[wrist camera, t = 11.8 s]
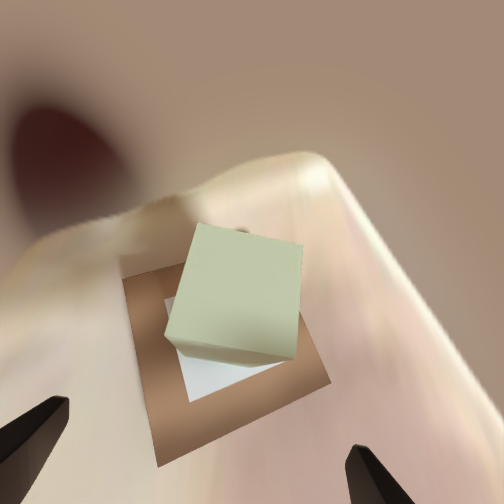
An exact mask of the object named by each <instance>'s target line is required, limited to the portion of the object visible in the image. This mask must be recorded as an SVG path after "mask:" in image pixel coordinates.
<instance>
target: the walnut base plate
mask: <svg viewBox="0 0 504 504" xmlns="http://www.w3.org/2000/svg"><path fill="white" fill-rule="evenodd" d="M185 263H186V262H185ZM185 263H181V264H178V265H174V266H170V267H166V268H162V269H159V270H155V271H151V272H147V273H144V274H140V275H136V276H132V277H129V278H125V279H122V280H123V285H124V290H125V296H126V301H127V306H128V312H129V317H130V322H131V328H132V333H133V338H134V343H135V349H136V354H137V359H138V365H139V370H140V375H141V381H142V386H143V391H144V397H145V402H146V407H147V413H148V418H149V423H150V429H151V434H152V439H153V445H154V450H155V455H156V460H157V466H158V468H159V467H161V466H163V465H165V464H167V463H169V462H171V461H173V460H175V459H177V458H179V457H181V456H183V455H185V454H187V453H189V452H191V451H193V450H196V449H198V448H200V447H202V446H204V445H206V444H208V443H210V442H212V441H214V440H216V439H218V438H220V437H222V436H224V435H226V434H228V433H230V432H232V431H234V430H236V429H238V428H240V427H243V426H245V425H247V424H249V423H251V422H253V421H255V420H257V419H259V418H261V417H263V416H265V415H267V414H269V413H271V412H273V411H275V410H277V409H279V408H281V407H283V406H285V405H288V404H290V403H292V402H294V401H296V400H298V399H300V398H302V397H304V396H306V395H308V394H310V393H312V392H314V391H316V390H318V389H320V388H322V387H324V386H326V385H328V384H330V383H331V381H330V379H329V377H328V374H327V372H326V370H325V367H324V365H323V363H322V361H321V358H320V356H319V354H318V352H317V349H316V347H315V345H314V343H313V340H312V338H311V336H310V334H309V331H308V329H307V327H306V325H305V322H304V320H303V318H302V316H301V313H300V311H299V320H298V336H297V352H296V359H293V360H288V361H283V362H278V363H274V364H269V365H264V366H259V367H254V368H245V367H240V366H234V365H228V364H222V363H217V362H211V361H205V360H199V359H193V358H188V357H185V356H184V355H183V354H182V353H181V352H180V351H179V350H178V349H177V348H176V347H175V346H174V345H173V344H172V343H171V342H170V341H169V340H168V339H167V338H166V337H165V336H164V334H165V330H166V327H167V324H168V320H169V317H170V314H171V310H172V307H173V304H174V300H175V297H176V294H177V290H178V287H179V283H180V280H181V277H182V273H183V270H184V267H185Z"/></svg>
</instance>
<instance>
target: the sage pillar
mask: <svg viewBox="0 0 504 504" xmlns="http://www.w3.org/2000/svg"><path fill="white" fill-rule="evenodd" d="M302 257H303V245H300V244H295V243H291V242H286V241H282V240H277V239H272V238H268V237H263V236H258V235H254V234H249V233H245V232H240V231H235V230H231V229H226V228H221V227H217V226H212V225H208V224H203V223H197V226H196V230H195V233H194V236H193V240H192V243H191V247H190V250H189V253H188V257H187V260H186V263H185V267H184V270H183V273H182V277H181V280H180V283H179V287H178V290H177V294H176V297H175V300H174V304H173V307H172V310H171V314H170V317H169V320H168V324H167V327H166V330H165V334H164V336H165V337H166V338H167V339H168V340H169V341H170V342H171V343H172V344H173V345H174V346H175V347H176V348H177V349H178V350H179V351H180V352H181V353H182V354H183V355H184V356H185V357H188V358H193V359H199V360H205V361H211V362H217V363H222V364H228V365H234V366H240V367H245V368H254V367H259V366H264V365H269V364H274V363H278V362H283V361H288V360H293V359H296V352H297V336H298V320H299V305H300V289H301V273H302Z"/></svg>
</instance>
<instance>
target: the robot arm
mask: <svg viewBox="0 0 504 504" xmlns="http://www.w3.org/2000/svg"><path fill="white" fill-rule="evenodd" d="M68 420H69V398H68V397H64V396H57V395H56V396H52V397H50V398H48V399H47V400H45V401H44V402H42V403H40V404H39V405H37V406H36V407H34V408H32V409H31V410H29V411H28V412H26V413H24V414H23V415H21V416H19V417H18V418H16V419H15V420H13V421H11V422H10V423H8V424H7V425H5V426H3V427H2V428H0V504H20V503H21V502H22V500H23V499H24V497H25V496H26V494H27V493H28V491H29V490H30V488H31V486H32V485H33V483H34V481H35V480H36V478H37V476H38V474H39V473H40V471H41V469H42V467H43V466H44V464H45V462H46V460H47V459H48V457H49V455H50V453H51V452H52V450H53V448H54V446H55V445H56V443H57V441H58V439H59V438H60V436H61V434H62V432H63V430H64V429H65V427H66V425H67V423H68ZM345 471H346V476H347V482H348V488H349V494H350V499H351V504H415V503H414V502H413V501H412V499H411V498H410V497H409V496H408V495H407V493H406V492H405V491H404V490H403V489H402V487H401V486H400V485H399V484H398V483H397V481H396V480H395V479H394V478H393V477H392V475H391V474H390V473H389V472H388V471H387V469H386V468H385V467H384V466H383V465H382V463H381V462H380V461H379V460H378V458H377V457H376V456H375V455H374V454H373V452H372V451H371V450H370V449H369V448H368V447H366V446H363V445H357V444H355V445H353V447H352V449H351V451H350V453H349V455H348V457H347V459H346V463H345Z"/></svg>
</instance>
